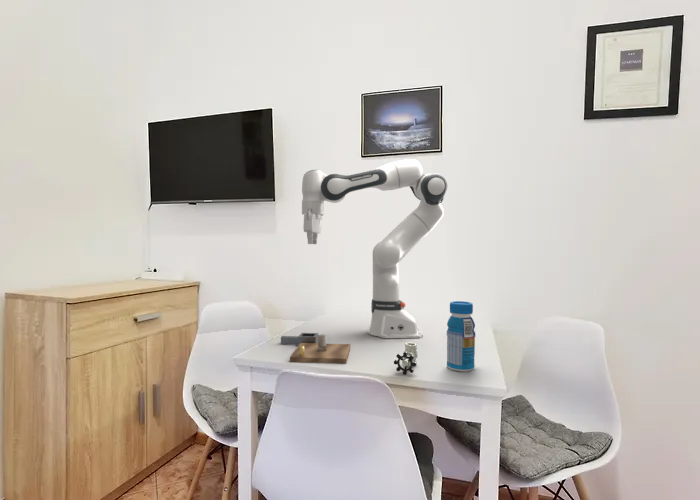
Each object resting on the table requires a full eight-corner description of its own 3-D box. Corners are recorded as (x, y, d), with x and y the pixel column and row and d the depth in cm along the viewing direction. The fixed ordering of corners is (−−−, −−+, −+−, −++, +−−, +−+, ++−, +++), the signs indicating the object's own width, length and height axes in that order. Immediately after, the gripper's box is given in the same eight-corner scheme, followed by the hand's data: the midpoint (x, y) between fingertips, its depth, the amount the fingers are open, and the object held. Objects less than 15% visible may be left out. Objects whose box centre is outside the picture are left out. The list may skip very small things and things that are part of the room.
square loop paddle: (318, 342, 149) (318, 333, 149) (315, 346, 143) (315, 337, 143) (283, 341, 150) (283, 332, 150) (279, 345, 144) (279, 336, 144)
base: (350, 348, 141) (350, 330, 141) (346, 363, 123) (346, 342, 123) (301, 346, 142) (301, 329, 142) (289, 361, 124) (289, 341, 124)
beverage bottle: (444, 370, 117) (445, 303, 117) (447, 362, 125) (448, 299, 125) (474, 374, 114) (475, 305, 114) (475, 365, 122) (476, 301, 122)
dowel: (304, 359, 127) (304, 345, 127) (303, 361, 125) (303, 347, 125) (300, 359, 127) (300, 345, 127) (299, 360, 125) (299, 346, 125)
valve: (401, 362, 126) (393, 373, 114) (401, 341, 125) (393, 351, 114) (422, 364, 123) (416, 376, 112) (422, 343, 123) (416, 353, 112)
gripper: (316, 207, 149) (315, 244, 150) (324, 212, 170) (323, 244, 170) (299, 207, 150) (299, 244, 150) (309, 212, 170) (309, 244, 170)
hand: (312, 244), depth 160 cm, fingers open, 8 cm apart
